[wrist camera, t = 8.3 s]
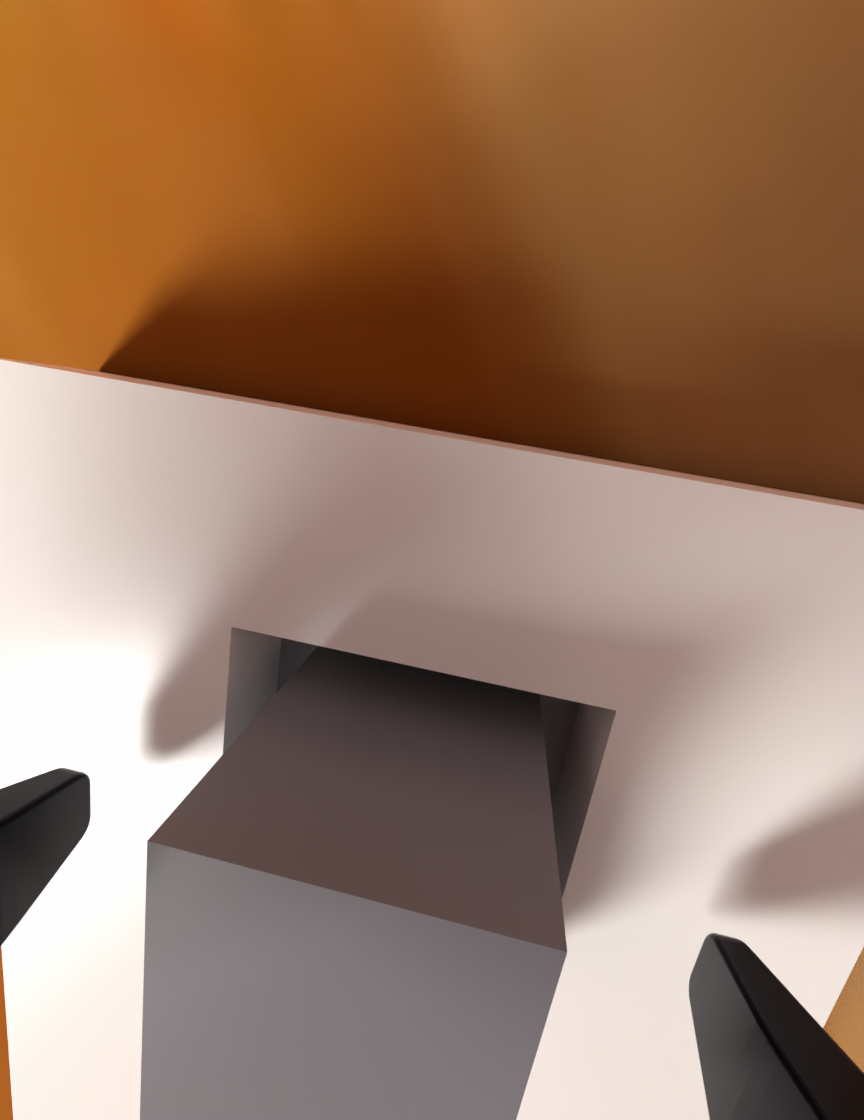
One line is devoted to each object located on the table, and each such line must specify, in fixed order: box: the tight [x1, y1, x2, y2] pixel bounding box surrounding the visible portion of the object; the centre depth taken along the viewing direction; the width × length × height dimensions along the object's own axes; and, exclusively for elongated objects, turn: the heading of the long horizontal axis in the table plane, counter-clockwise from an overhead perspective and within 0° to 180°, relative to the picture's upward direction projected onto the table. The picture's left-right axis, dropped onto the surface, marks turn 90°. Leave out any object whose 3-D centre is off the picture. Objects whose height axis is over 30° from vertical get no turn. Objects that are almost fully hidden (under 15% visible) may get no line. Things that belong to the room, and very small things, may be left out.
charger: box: [140, 646, 567, 1120], centre depth 8 cm, size 4×4×5 cm
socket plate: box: [0, 358, 864, 1120], centre depth 10 cm, size 14×18×2 cm
